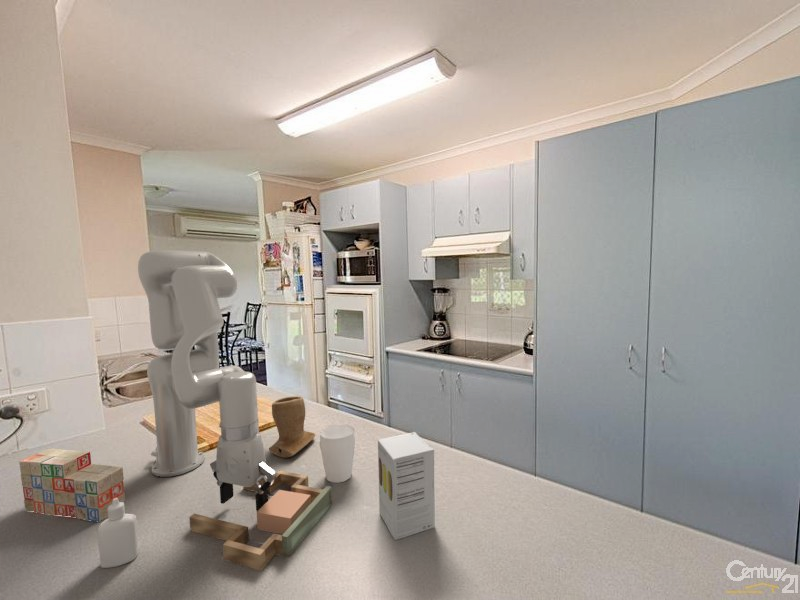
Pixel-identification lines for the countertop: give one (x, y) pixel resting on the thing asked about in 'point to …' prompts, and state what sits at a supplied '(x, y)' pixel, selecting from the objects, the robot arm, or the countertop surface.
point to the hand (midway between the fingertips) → (244, 503)
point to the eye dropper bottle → (118, 537)
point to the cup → (337, 451)
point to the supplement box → (406, 484)
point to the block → (282, 511)
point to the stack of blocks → (70, 484)
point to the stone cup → (290, 426)
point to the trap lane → (260, 554)
